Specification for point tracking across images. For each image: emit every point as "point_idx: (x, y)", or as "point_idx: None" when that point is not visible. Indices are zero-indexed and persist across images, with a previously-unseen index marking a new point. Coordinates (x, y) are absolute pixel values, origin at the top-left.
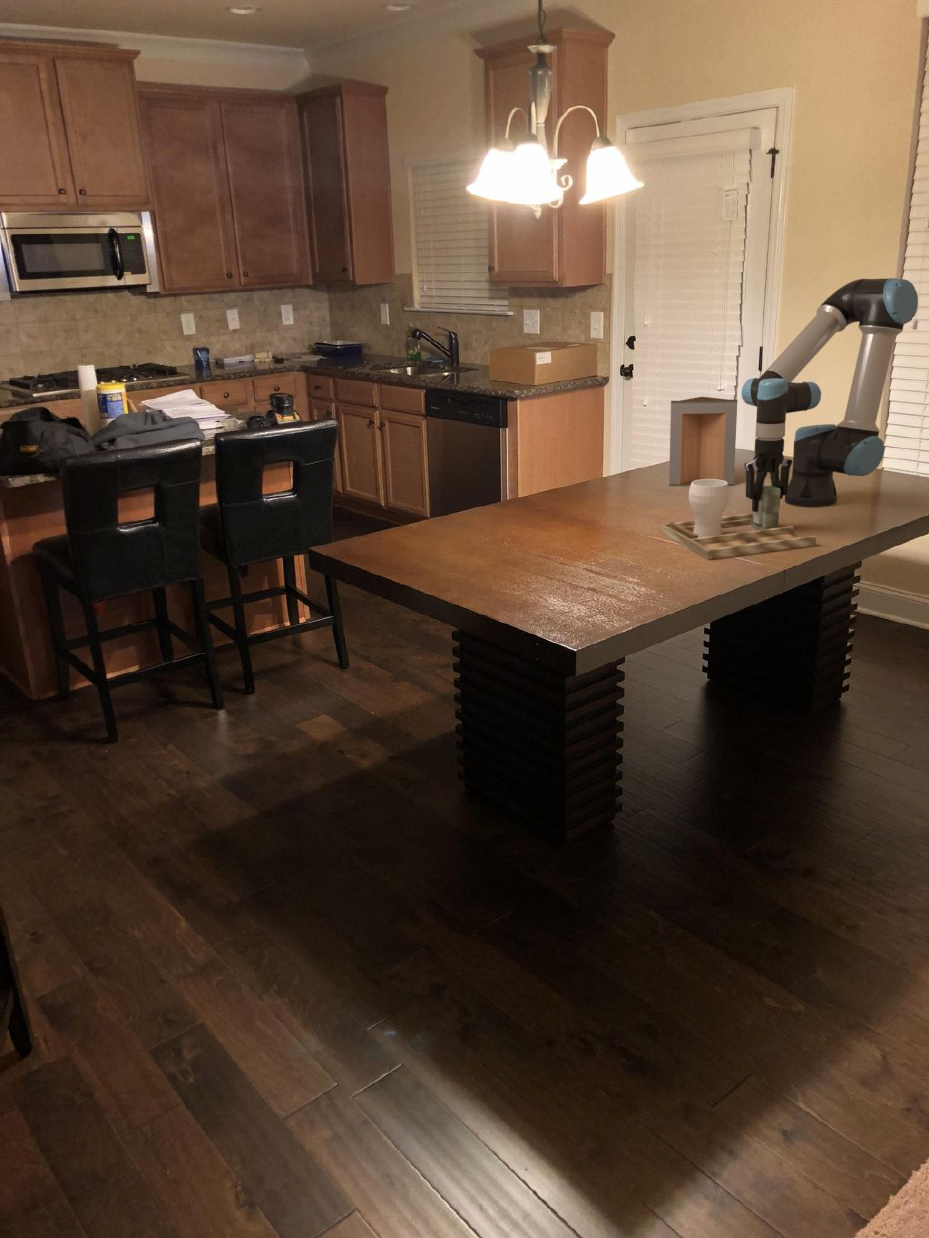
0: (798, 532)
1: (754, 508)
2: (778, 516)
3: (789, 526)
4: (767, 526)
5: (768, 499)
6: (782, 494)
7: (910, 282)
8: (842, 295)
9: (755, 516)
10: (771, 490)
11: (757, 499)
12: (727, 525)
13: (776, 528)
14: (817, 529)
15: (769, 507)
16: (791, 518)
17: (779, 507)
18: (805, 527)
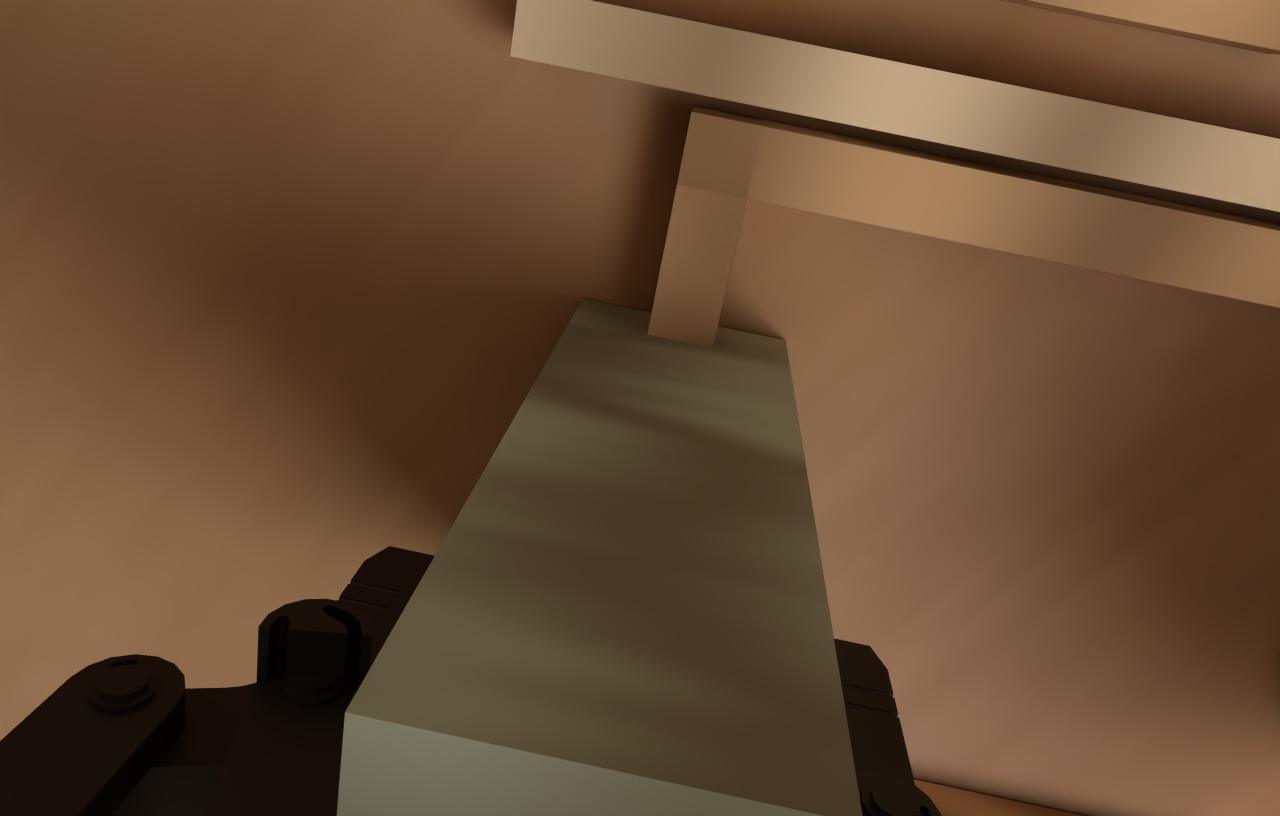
0: (371, 87)
1: (892, 696)
2: (545, 372)
3: (559, 55)
4: (748, 364)
5: (776, 613)
6: (194, 716)
7: None
8: None
9: None
10: (695, 771)
11: (910, 798)
12: (943, 801)
13: (831, 87)
14: (44, 48)
15: (732, 500)
16: (71, 624)
17: (369, 560)
18: (138, 231)
